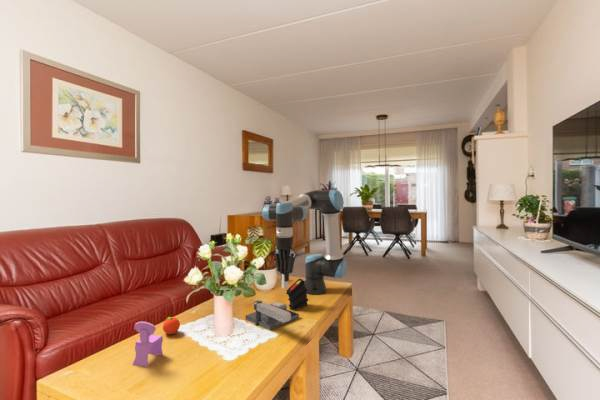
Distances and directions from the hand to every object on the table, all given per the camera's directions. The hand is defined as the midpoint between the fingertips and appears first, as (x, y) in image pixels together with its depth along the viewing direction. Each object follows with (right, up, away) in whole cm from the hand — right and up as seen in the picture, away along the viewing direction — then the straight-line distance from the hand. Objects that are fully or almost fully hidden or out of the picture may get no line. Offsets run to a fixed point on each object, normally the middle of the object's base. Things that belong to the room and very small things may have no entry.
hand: (284, 287), depth 138 cm
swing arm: (-6, -11, -3) cm, 13 cm away
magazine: (+5, -18, +25) cm, 32 cm away
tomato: (-50, -19, -6) cm, 54 cm away
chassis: (-7, -18, +11) cm, 22 cm away
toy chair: (-49, -19, -27) cm, 59 cm away
